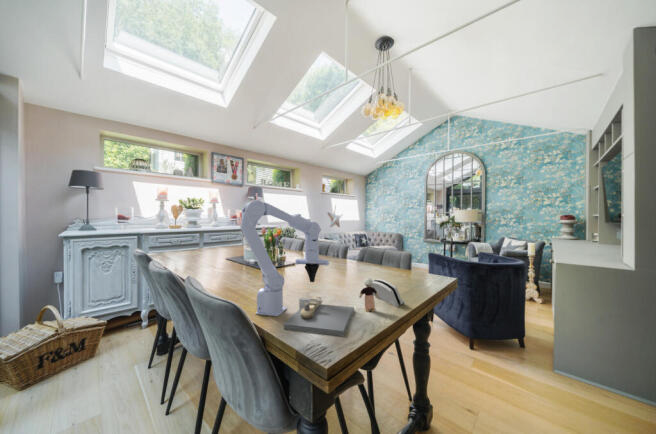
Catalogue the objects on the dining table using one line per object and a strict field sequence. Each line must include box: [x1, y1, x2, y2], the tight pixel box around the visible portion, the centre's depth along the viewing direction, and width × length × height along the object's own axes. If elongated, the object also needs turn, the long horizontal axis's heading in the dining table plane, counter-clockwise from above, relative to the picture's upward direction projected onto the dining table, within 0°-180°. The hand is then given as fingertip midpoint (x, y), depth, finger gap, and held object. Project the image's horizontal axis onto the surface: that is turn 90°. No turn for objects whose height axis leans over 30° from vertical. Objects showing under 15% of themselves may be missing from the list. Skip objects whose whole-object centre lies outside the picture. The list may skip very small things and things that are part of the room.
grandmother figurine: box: [358, 277, 379, 313], centre depth 90 cm, size 8×4×13 cm, turn 108°
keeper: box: [298, 297, 323, 311], centre depth 87 cm, size 8×2×4 cm, turn 74°
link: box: [301, 296, 322, 318], centre depth 86 cm, size 16×4×4 cm, turn 168°
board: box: [283, 303, 355, 337], centre depth 82 cm, size 20×20×2 cm
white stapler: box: [371, 278, 406, 308], centre depth 101 cm, size 17×5×10 cm, turn 25°
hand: (312, 281), depth 98 cm, fingers closed
